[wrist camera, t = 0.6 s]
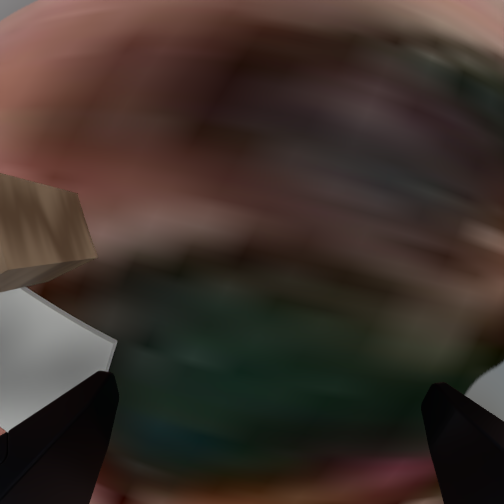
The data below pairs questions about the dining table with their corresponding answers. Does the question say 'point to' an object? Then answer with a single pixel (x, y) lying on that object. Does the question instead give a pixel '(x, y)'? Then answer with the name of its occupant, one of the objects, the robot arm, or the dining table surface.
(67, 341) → the grey mat
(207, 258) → the dining table surface
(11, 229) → the walnut block
